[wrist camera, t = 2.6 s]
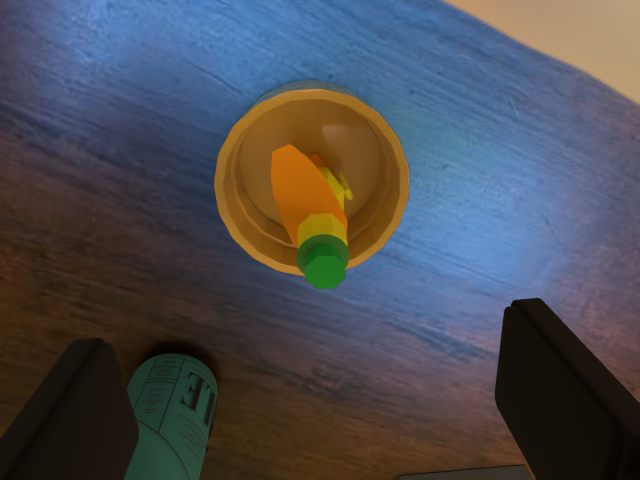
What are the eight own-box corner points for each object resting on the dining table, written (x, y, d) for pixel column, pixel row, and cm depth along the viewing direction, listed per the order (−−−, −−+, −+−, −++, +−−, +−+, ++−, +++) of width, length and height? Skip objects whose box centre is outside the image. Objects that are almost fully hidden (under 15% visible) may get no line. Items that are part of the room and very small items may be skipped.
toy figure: (260, 127, 26) (230, 191, 15) (316, 102, 26) (326, 150, 15) (306, 224, 29) (309, 338, 18) (357, 203, 28) (393, 306, 18)
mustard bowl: (390, 73, 26) (410, 80, 21) (391, 233, 30) (408, 268, 25) (216, 87, 26) (198, 98, 21) (241, 245, 30) (231, 283, 25)
